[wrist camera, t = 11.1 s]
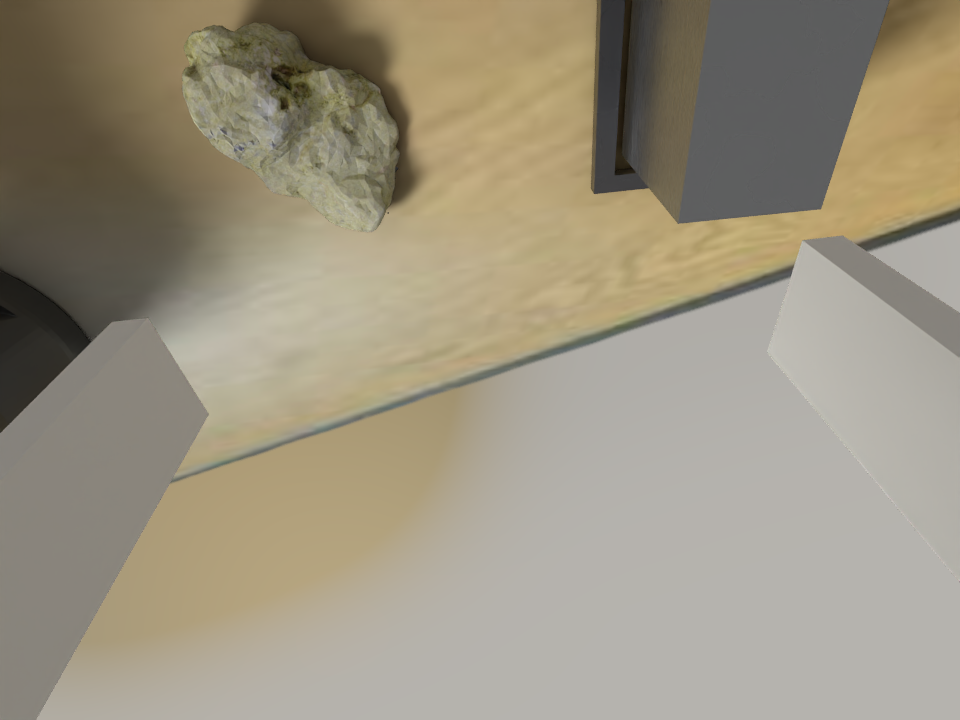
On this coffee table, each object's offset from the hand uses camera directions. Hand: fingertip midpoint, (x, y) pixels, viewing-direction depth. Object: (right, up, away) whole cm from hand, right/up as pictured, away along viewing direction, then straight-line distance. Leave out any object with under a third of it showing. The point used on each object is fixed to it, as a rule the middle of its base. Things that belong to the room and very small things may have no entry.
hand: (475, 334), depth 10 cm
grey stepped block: (+11, +16, +17) cm, 26 cm away
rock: (-10, +13, +19) cm, 25 cm away
